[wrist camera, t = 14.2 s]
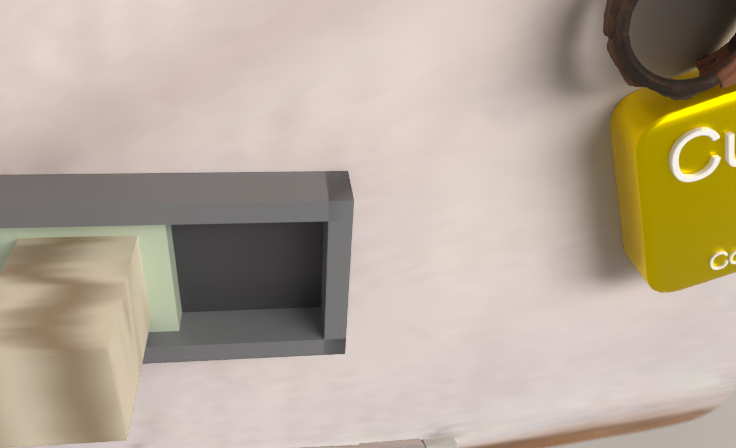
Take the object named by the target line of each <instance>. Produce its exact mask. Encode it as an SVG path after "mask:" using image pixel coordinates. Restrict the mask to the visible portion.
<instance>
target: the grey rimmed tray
mask: <svg viewBox="0 0 736 448" xmlns="http://www.w3.org/2000/svg"><path fill="white" fill-rule="evenodd" d="M353 207H354V199H353V194H352V189H351V184H350V179H349V174H348V171H328V172H237V173H146V174H56V175H0V273H1V271H2V269H3V268H4V266H5V264H6V262H7V260H8V258H9V256H10V254H11V252H12V250H13V248H14V246H15V244H16V242H17V240H18V238H41V237H86V236H131V235H138V240H139V247H140V253H141V259H142V265H143V272H144V278H145V284H146V290H147V296H148V303H149V309H150V315H151V322H150V327H149V332H148V337H147V342H146V347H145V352H144V357H143V362H142V364H146V363H167V362H187V361H208V360H228V359H249V358H269V357H290V356H310V355H331V354H345V343H346V326H347V309H348V292H349V275H350V258H351V241H352V224H353Z"/></svg>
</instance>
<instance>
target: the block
mask: <svg viewBox="0 0 736 448" xmlns="http://www.w3.org/2000/svg"><path fill="white" fill-rule="evenodd" d="M150 322H151V315H150V309H149V303H148V296H147V290H146V284H145V278H144V272H143V265H142V259H141V253H140V247H139V240H138V235H131V236H86V237H41V238H18V240H17V242H16V244H15V246H14V248H13V250H12V252H11V254H10V256H9V258H8V260H7V262H6V264H5V266H4V268H3V269H2V271H1V273H0V448H13V447H29V446H44V445H60V444H76V443H92V442H108V441H124V440H127V438H128V433H129V428H130V423H131V418H132V413H133V407H134V402H135V397H136V392H137V387H138V382H139V377H140V372H141V367H142V362H143V357H144V352H145V347H146V342H147V337H148V332H149V327H150Z"/></svg>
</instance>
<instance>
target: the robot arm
mask: <svg viewBox="0 0 736 448" xmlns="http://www.w3.org/2000/svg"><path fill="white" fill-rule="evenodd" d="M303 448H459V447H458V444H457V442H456V441H455V440H454V438H452V437H445V438H434V439H423V440H420V439H409V440H397V441H385V442H373V443H361V444H359V445H345V446H324V447H303Z"/></svg>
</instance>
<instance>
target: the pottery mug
mask: <svg viewBox="0 0 736 448" xmlns="http://www.w3.org/2000/svg"><path fill="white" fill-rule="evenodd" d="M637 2H638V0H607V3H606V8H605V13H604V26H603V32H604V35H605V36H608V37H609V40H608V43H607V50H608V52H609V54H610V57H611V58H612V60H613V62H614V63H615V65H616V66H617V68H618V69H619V71H620V73H621V75H622V76H623V78H624V80H625V81H626V83H627V84H628V85H629V86H635V87H647V88H648V89H650V90H653V91H656V92H658V93H659V94H660V95H662V96H664V97H670V98H671V99H672V100H688V99H691V98H692V97H693V96H695V95H697V94H699V93H700V92H703V91H706V90H708V89H711V88H713V87H715V86H717V85H718V84H719V83H720V88H722V89H724V88H726V87H728V86H730V85H732V84H734V83H736V33H735V35H734V36H733V37H732V38H731V39H730V41H729V42H728V43H726V44H725V45H724V46H723V47H721V48H720V49H718V50H717V51H715V52H714V53H712V54H711V55H709V56H707V57H705V58H703V59H700V60H698V61H697V62H696V65H697V68H698V70H699V77H695V78H691V79H682V80H675V79H667V78H663V77H660V76H657V75H655V74H653V73H652V72H650V71H649V70H647V69H646V68H645V67H644V66H643V65H642V64H641V63H640V62H639V61H638V60H637V58H636V56H635V55H634V53H633V50H632V48H631V45H630V39H629V25H630V19H631V15H632V12H633V10H634V7H635V5H636V4H637Z"/></svg>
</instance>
